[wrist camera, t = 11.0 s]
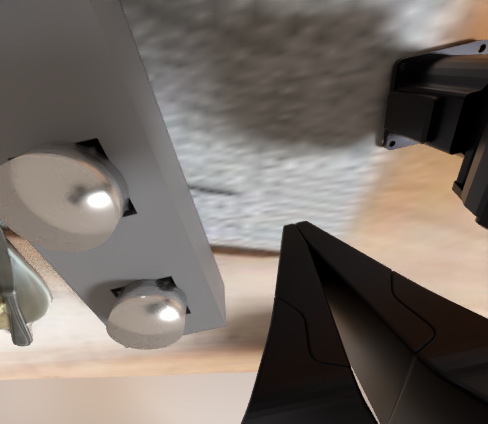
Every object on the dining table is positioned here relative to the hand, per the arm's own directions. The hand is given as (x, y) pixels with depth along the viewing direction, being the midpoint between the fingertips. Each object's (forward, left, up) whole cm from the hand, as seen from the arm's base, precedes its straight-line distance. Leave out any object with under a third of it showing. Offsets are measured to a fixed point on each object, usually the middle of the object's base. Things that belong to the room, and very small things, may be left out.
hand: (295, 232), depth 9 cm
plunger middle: (+11, -1, -12) cm, 16 cm away
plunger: (+11, +10, -11) cm, 19 cm away
